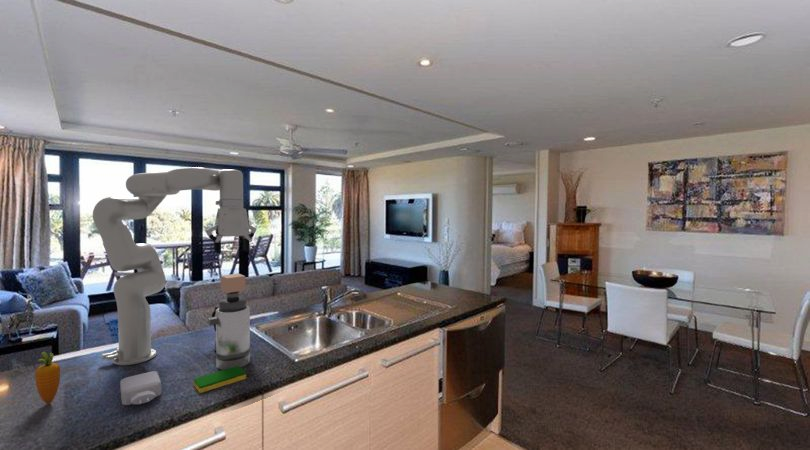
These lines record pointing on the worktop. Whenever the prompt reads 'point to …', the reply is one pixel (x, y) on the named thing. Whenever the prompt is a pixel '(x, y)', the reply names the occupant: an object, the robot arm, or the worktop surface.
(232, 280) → the airpot button
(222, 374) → the dish sponge
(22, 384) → the worktop surface
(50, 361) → the carrot
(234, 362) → the airpot
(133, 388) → the charger
